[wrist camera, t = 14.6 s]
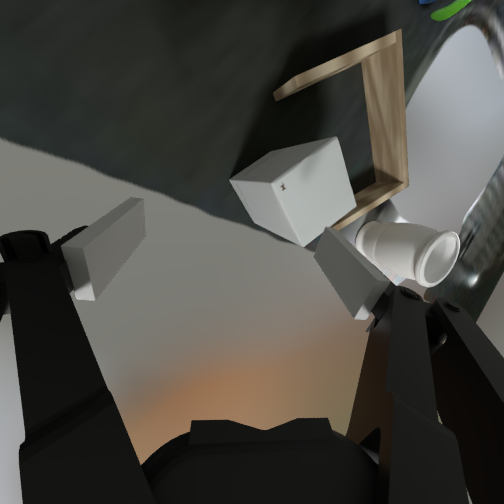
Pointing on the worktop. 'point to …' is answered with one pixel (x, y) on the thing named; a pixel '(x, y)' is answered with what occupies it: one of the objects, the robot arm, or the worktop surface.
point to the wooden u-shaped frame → (372, 115)
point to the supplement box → (297, 190)
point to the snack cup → (446, 9)
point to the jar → (410, 250)
